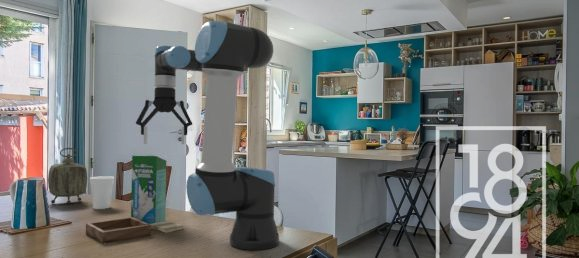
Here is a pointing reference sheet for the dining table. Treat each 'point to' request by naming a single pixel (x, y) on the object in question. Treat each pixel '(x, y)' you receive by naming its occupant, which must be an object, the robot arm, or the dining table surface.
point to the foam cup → (101, 191)
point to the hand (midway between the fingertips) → (164, 144)
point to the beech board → (166, 226)
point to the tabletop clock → (67, 178)
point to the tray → (118, 229)
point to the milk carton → (148, 188)
